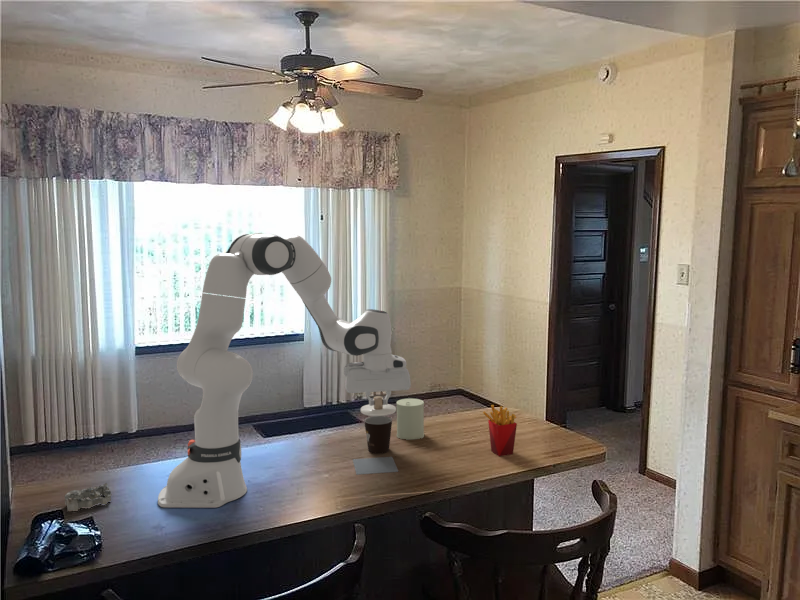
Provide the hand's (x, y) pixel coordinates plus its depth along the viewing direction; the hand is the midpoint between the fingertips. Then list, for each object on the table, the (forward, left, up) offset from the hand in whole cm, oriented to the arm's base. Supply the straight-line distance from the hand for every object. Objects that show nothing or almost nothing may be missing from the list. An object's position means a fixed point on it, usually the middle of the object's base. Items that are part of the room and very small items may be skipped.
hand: (378, 404), depth 208 cm
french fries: (+36, -11, -15) cm, 40 cm away
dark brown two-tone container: (0, 0, -15) cm, 15 cm away
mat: (-3, -14, -14) cm, 20 cm away
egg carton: (-79, -26, -15) cm, 84 cm away
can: (+12, +11, -15) cm, 22 cm away
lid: (0, 0, -2) cm, 2 cm away
